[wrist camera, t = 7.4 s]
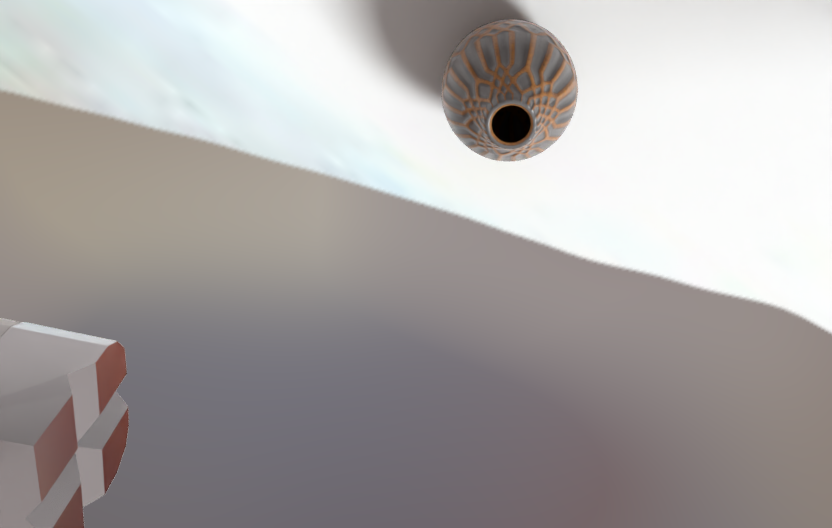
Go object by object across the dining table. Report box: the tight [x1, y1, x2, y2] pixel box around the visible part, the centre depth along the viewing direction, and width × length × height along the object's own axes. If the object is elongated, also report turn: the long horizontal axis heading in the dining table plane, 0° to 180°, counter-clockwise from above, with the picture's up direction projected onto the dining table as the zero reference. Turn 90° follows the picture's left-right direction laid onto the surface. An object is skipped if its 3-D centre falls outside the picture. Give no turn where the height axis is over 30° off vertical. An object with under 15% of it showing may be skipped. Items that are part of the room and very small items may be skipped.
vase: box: [442, 19, 578, 161], centre depth 39 cm, size 7×7×9 cm
